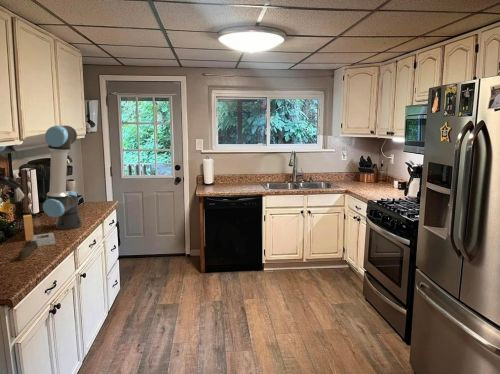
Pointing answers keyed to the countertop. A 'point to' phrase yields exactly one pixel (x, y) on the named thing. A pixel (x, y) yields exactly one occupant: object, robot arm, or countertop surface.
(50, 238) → the square frame
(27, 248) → the hand tool
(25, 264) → the countertop surface
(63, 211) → the robot arm
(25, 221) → the orange rectangular block
